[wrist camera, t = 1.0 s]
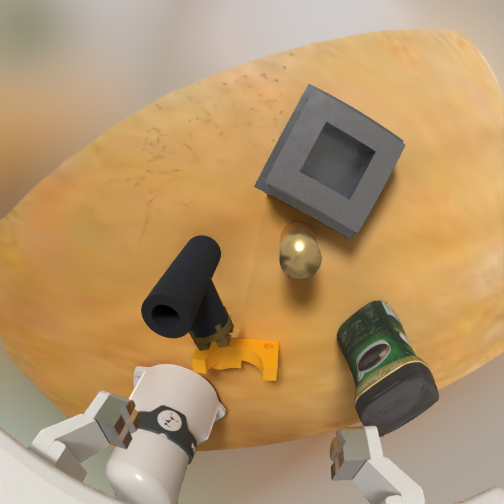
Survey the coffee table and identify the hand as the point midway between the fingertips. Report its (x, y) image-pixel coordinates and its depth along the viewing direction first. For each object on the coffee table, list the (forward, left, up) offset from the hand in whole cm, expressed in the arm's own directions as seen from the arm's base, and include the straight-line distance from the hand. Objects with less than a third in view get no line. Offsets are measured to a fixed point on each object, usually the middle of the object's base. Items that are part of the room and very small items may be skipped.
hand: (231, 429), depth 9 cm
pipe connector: (-9, +5, -30) cm, 31 cm away
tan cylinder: (+1, -3, -29) cm, 29 cm away
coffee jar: (-5, -20, -30) cm, 36 cm away
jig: (+12, -2, -29) cm, 32 cm away
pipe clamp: (-19, -5, -30) cm, 35 cm away
